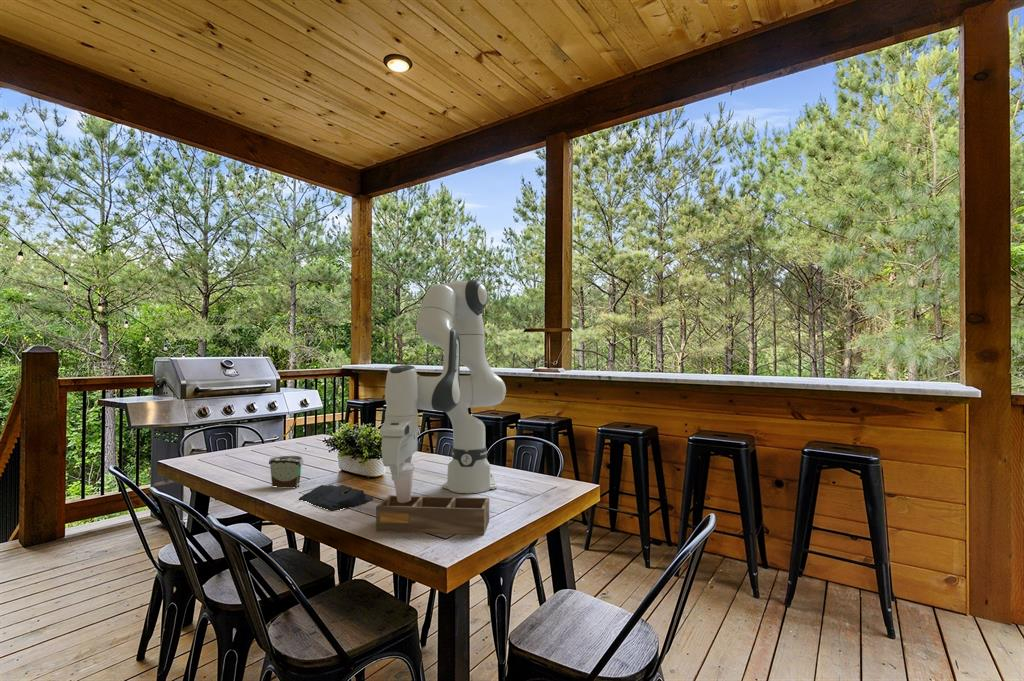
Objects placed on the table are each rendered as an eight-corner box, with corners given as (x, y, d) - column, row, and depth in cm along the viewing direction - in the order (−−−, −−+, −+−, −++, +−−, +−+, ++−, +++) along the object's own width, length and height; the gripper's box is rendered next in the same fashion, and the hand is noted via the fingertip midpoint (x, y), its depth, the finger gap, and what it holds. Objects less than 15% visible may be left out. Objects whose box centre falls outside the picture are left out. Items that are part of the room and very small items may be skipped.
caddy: (388, 518, 141) (388, 495, 141) (489, 521, 138) (489, 498, 139) (375, 531, 131) (375, 506, 131) (483, 535, 128) (483, 509, 128)
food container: (310, 484, 178) (310, 456, 178) (300, 488, 172) (300, 459, 172) (279, 482, 180) (279, 454, 180) (268, 487, 174) (268, 458, 174)
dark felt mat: (336, 490, 171) (336, 476, 171) (377, 502, 158) (377, 487, 158) (294, 501, 159) (294, 486, 159) (334, 514, 146) (334, 498, 146)
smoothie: (417, 494, 141) (415, 446, 140) (414, 504, 135) (412, 454, 133) (394, 495, 141) (392, 447, 139) (390, 505, 135) (388, 455, 133)
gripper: (401, 419, 147) (401, 466, 147) (377, 430, 126) (377, 485, 126) (422, 419, 146) (422, 466, 146) (401, 431, 126) (401, 486, 126)
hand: (401, 475), depth 136 cm, fingers open, 8 cm apart
